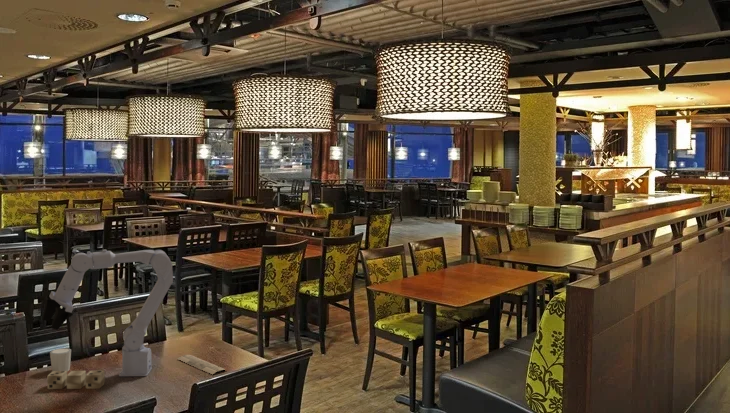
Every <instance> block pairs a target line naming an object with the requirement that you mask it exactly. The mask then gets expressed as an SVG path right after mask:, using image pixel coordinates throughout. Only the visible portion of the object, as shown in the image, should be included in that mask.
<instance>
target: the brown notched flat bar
mask: <svg viewBox="0 0 730 413" xmlns="http://www.w3.org/2000/svg"><path fill="white" fill-rule="evenodd" d="M177 359H178V360H177V361H179V360H181V361H183V362H182V363H184V362H185V363H184V364H186V363H187V364H186V365H188V364H189V365H188V366H190V365H191V366H190V367H193V366H194V367H193V368H195V367H196V368H195V369H197V368H198V370H199V371H202V370H203V371H202V372H204V371H205V373H206V372H207V373H206V374H209V373H210V374H209V375H211V374H212V376H214V375H213V374H216V373H217V372H221V371H223V370H225V369H226V368H223V367H221V366H219V365H216V364H214V363H212V362H209V361H207V360H203V359H202V358H199V357H196V356H194V355H192V354H184V355H182V356H180V357H178V358H177ZM181 361H180V362H181ZM218 366H219V367H218Z"/></svg>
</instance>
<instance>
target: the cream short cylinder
mask: <svg viewBox="0 0 730 413" xmlns="http://www.w3.org/2000/svg"><path fill="white" fill-rule="evenodd" d="M49 356H50V364H51V372H53V371H67V372H68V371H69V372H70V369H71V358H72V349H71V348H67V347H65V348H64V347H63V348H55V349H52V350H51V351H49Z"/></svg>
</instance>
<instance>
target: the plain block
mask: <svg viewBox="0 0 730 413" xmlns="http://www.w3.org/2000/svg"><path fill="white" fill-rule="evenodd" d="M86 375H87V370H71V371H69V373H67V385H66V390H72V389H73V390H75V389H76V390H77V389H80V390H81V389H82V388H83V387H84V386H86Z"/></svg>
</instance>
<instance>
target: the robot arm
mask: <svg viewBox="0 0 730 413" xmlns="http://www.w3.org/2000/svg"><path fill="white" fill-rule="evenodd" d="M101 250H102V251H94V252H91V251H90V250H89V251H86V253H84V252H77V253H76V254H74V255H73V257H71V260H70V261H71V263H70V265H69V266H68V268H67V270H66V271H65V273H64V274H63V277H62V279H61V281H60V283H59V286H58V287H57V289H56V291H52V290H51V292H50V294H49V296H48V297H45V298H44V311H43V314H42V315H43V316H42V320H43V321H46V322H50V321H51V319H52V318H53V316H54V318H53V320H52V323H51V327H50V328H51V329H52V330H56V331H57V330H59V329H60V327H62V325H64V323H65V322H66V321H67V320H68V319H69V318H71V317H73V315H74V312H73V311H74V308H75V307H74V306H73V302H72V301H73V299H74V297H75V296H76V293H77V291H78V289H79V288H80V285H81V283H82V282H83V279H84V275H85V273H86V272H87V271H88V270H89V269H90V270H98V269H109V268H112V267H113V266H114V265H116V264H122V263H123V264H125V263H139V262H140V263H142V264H144V265H146V266H149V265H151V267H152V269H153V270H154V271H155V273H156V276H157V281H156V282H155V284H154V286H153V288H152V289H151V290H150V293H149V294H148V296H147V298H146V300H145V301H144V303H143V305H142V307H141V309H140V310H139V313H138V314H137V316H136V318H134V320H133V321H132V322H131V323H130V325H129V326H128V327H127V328H125V330H124V331H123V333H122V338H123V346H122V347H121V348H122V349H121V354H122V363H121V364H122V371H121V372H119V374H118V377H147V376H148V375H149V373H150V372H151V371H152V369H153V367H152V364H153V363H152V349H151V347H146V346H145V345H144V340H145V336H146V333H147V330H148V326H149V325H150V323H151V322H152V319H153V318H154V316H155V314H156V313H157V311H158V309H159V307H160V305H161V303H162V302H163V300H164V298H165V296H166V294H167V293H168V291H169V289H170V288H171V286H172V284H173V282H174V272H173V263H172V261H171V259H170V257H169V256H168V255H167V253H166V252H165V251H164V250H162V249H155V250H154V249H143V250H136V251H135V250H134V251H128V252H121V253H114V252H112V250H107V249H101ZM54 314H55V315H54Z"/></svg>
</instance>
